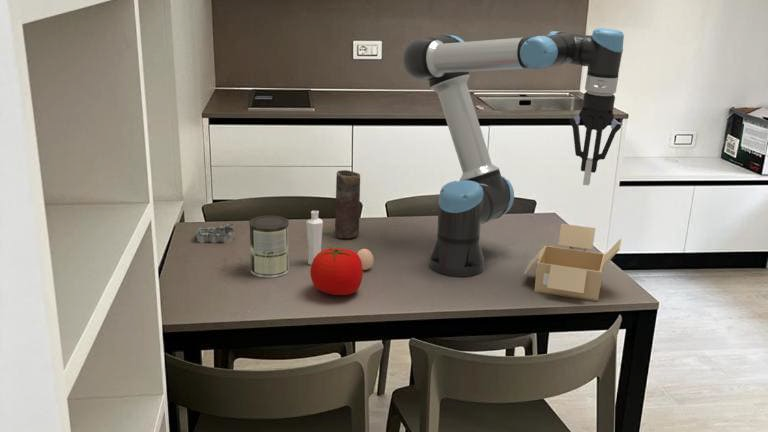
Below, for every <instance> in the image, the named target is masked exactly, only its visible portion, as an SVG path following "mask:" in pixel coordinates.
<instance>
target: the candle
mask: <svg viewBox="0 0 768 432" xmlns="http://www.w3.org/2000/svg"><path fill="white" fill-rule="evenodd" d="M335 183H336V184H335V185H336V186H335V188H336V190H335V191H336V192H335V214H334V215H335V217H334V218H335V219H334V221H335V222H334V229H335V230H334V237H336V238H338V239H341V238H342V239H352V238H355V237H357V236H358V235H359V234H360V212H361V211H360V208H361V207H360V206H361V205H360V204H361V202H360V201H361V200H360V199H361V174H360V173H358V172H355V171H351V170H348V169H345V170H344V169H343V170H338V171H337V172H336V182H335Z"/></svg>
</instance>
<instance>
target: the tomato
mask: <svg viewBox="0 0 768 432" xmlns="http://www.w3.org/2000/svg"><path fill="white" fill-rule="evenodd" d="M357 253H358V252H355V251H354V250H351V249H348V248H342V247H341V248H340V247H328V248H325V249H322V250H321V252H320V253H318V254H317V255H316V257H315V258H314V260H313V262H312V265H310V277H311V282H312V284H313V286H314V287H315V288H316V289H317V290H319V291H320V292H322V293H324V294H329V295H334V296H347V295H351V294H353V293H355V292H357V290H359V288H360V286H361V283H362V281H363V276H364V270H363V268H362V263H361V259H360V257H359V255H358V254H357Z"/></svg>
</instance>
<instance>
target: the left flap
mask: <svg viewBox="0 0 768 432" xmlns="http://www.w3.org/2000/svg"><path fill="white" fill-rule="evenodd" d="M543 249H544V247H542V248H541V249H540V250H539V251H538V252H537V253H536V255H535V256H534V257H533V258H532V259H531V260H530V261H529V262H528V264H527V266H526V269H525V271H524V272H523V275H524V276H525V275H526V274H528V273H529V271H530V270H531V269H532V267H534V265H535V264H537V262H538V260H539V258H540V255H541V253H542V251H543Z"/></svg>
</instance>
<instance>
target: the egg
mask: <svg viewBox="0 0 768 432" xmlns="http://www.w3.org/2000/svg"><path fill="white" fill-rule="evenodd" d="M356 253H357V254H358V255H359V257H360V259H361V263H362V268H363V271H365V270H366V271H367V270H369V269H370V268H372V266H373V265H374V261H375V260H374V255H373V254H372V252H371V250H369V249H367V248H362V249H361V248H360V250H358V251H357V252H356Z"/></svg>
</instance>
